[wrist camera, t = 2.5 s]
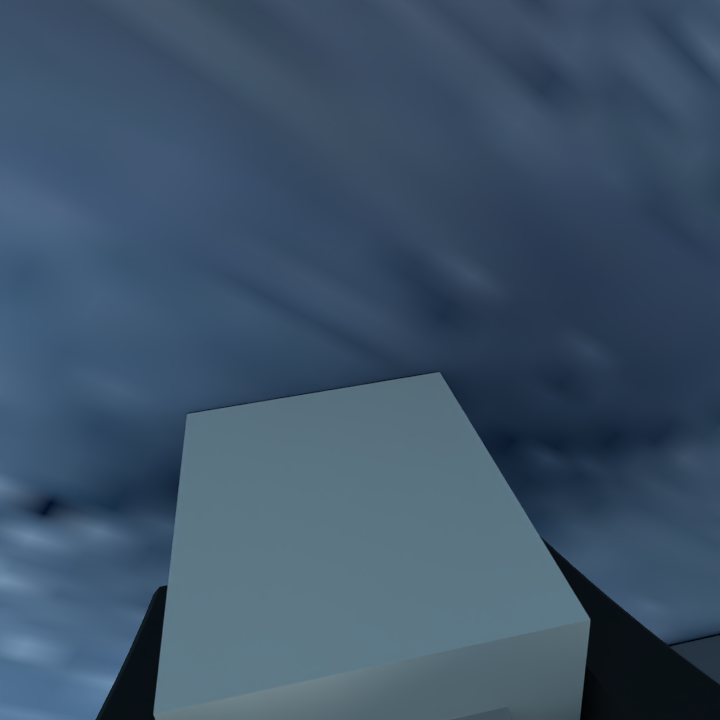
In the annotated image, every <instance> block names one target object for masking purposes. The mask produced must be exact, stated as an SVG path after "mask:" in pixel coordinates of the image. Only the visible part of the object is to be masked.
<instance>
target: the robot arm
mask: <svg viewBox="0 0 720 720" xmlns="http://www.w3.org/2000/svg"><path fill="white" fill-rule="evenodd" d="M540 538H541V539H542V541H543V543H544V544H545V546H546V547H547V549H548V551H549V552H550V554H551V556H552V557H553V559H554V561H555V562H556V564H557V566H558V567H559V569H560V570H561V572H562V574H563V575H564V577H565V579H566V580H567V582H568V584H569V585H570V587H571V589H572V590H573V592H574V593H575V595H576V597H577V598H578V600H579V602H580V603H581V605H582V607H583V608H584V610H585V612H586V613H587V615H588V616H589V618H590V629H589V639H588V648H587V657H586V667H585V676H584V685H583V695H582V704H581V714H580V720H720V684H719V683H717V682H716V681H715V680H713V679H712V678H711V677H709V676H708V675H706V674H705V673H704V672H702V671H701V670H700V669H699V668H697V667H696V666H695V665H693V664H692V663H691V662H689V661H688V660H687V659H685V658H684V657H683V656H681V655H680V654H679V653H677V652H676V651H675V650H673V649H672V648H671V647H669V646H668V645H667V644H666V643H664V642H663V641H662V640H661V639H659V638H658V637H657V636H655V635H654V634H653V633H652V632H650V631H649V630H648V629H647V628H645V627H644V626H643V625H642V624H641V623H639V622H638V621H637V620H636V619H635V618H633V617H632V616H631V615H630V614H629V613H627V612H626V611H625V610H624V609H622V608H621V607H620V606H619V605H618V604H616V603H615V602H614V601H613V600H612V599H610V598H609V597H608V596H607V595H606V594H604V593H603V592H602V591H601V590H600V589H599V588H597V587H596V586H595V585H594V584H593V583H592V582H591V581H589V580H588V579H587V578H586V577H585V576H584V575H583V574H581V573H580V572H579V571H578V570H577V569H576V568H575V567H574V566H572V565H571V564H570V563H569V562H568V561H567V560H566V559H565V558H564V557H562V556H561V555H560V554H559V553H558V552H557V551H556V550H555V549H554V548H553V547H551V546H550V545H549V544H548V543H547V542H546V541H545V540H544V539H543V538H542V537H541V536H540ZM167 588H168V585H166V586H161V587H159V588H158V590H157V591H156V592H155V593H154V595H153V597H152V600H151V602H150V604H149V607H148V609H147V612H146V614H145V617H144V619H143V621H142V624H141V626H140V628H139V630H138V633H137V635H136V637H135V640H134V642H133V644H132V646H131V648H130V651H129V653H128V655H127V657H126V659H125V661H124V663H123V666H122V668H121V670H120V672H119V674H118V676H117V678H116V680H115V682H114V684H113V686H112V688H111V690H110V692H109V694H108V696H107V698H106V700H105V702H104V704H103V706H102V708H101V710H100V712H99V714H98V716H97V718H96V720H155V717H154V715H153V713H154V704H155V695H156V686H157V677H158V668H159V659H160V650H161V641H162V632H163V624H164V615H165V606H166V597H167Z"/></svg>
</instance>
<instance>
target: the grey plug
mask: <svg viewBox="0 0 720 720" xmlns="http://www.w3.org/2000/svg"><path fill="white" fill-rule="evenodd" d="M589 629H590V618H589V616H588V615H587V613H586V612H585V610H584V608H583V607H582V605H581V603H580V602H579V600H578V598H577V597H576V595H575V593H574V592H573V590H572V589H571V587H570V585H569V584H568V582H567V580H566V579H565V577H564V575H563V574H562V572H561V570H560V569H559V567H558V566H557V564H556V562H555V561H554V559H553V557H552V556H551V554H550V552H549V551H548V549H547V547H546V546H545V544H544V543H543V541H542V539H541V538H540V536H539V534H538V533H537V531H536V529H535V528H534V526H533V524H532V523H531V521H530V520H529V518H528V516H527V515H526V513H525V511H524V510H523V508H522V506H521V505H520V503H519V501H518V500H517V498H516V497H515V495H514V493H513V492H512V490H511V488H510V487H509V485H508V483H507V482H506V480H505V478H504V477H503V475H502V474H501V472H500V470H499V469H498V467H497V465H496V464H495V462H494V460H493V459H492V457H491V455H490V454H489V452H488V451H487V449H486V447H485V446H484V444H483V442H482V441H481V439H480V437H479V436H478V434H477V432H476V431H475V429H474V428H473V426H472V424H471V423H470V421H469V419H468V418H467V416H466V414H465V413H464V411H463V410H462V408H461V406H460V405H459V403H458V401H457V400H456V398H455V396H454V395H453V393H452V391H451V390H450V388H449V387H448V385H447V383H446V382H445V380H444V378H443V377H442V375H441V373H440V372H437V373H431V374H425V375H419V376H413V377H407V378H401V379H395V380H389V381H383V382H377V383H371V384H365V385H359V386H353V387H347V388H341V389H335V390H329V391H323V392H317V393H310V394H304V395H298V396H292V397H286V398H280V399H274V400H268V401H262V402H256V403H250V404H244V405H238V406H232V407H226V408H220V409H214V410H208V411H202V412H196V413H190V414H187V418H186V427H185V436H184V445H183V454H182V463H181V472H180V481H179V490H178V498H177V507H176V516H175V525H174V534H173V543H172V552H171V561H170V570H169V579H168V588H167V597H166V606H165V615H164V624H163V632H162V641H161V650H160V659H159V668H158V677H157V686H156V695H155V704H154V713H153V715H154V717H155V720H580V714H581V704H582V695H583V685H584V676H585V667H586V657H587V648H588V639H589Z"/></svg>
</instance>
